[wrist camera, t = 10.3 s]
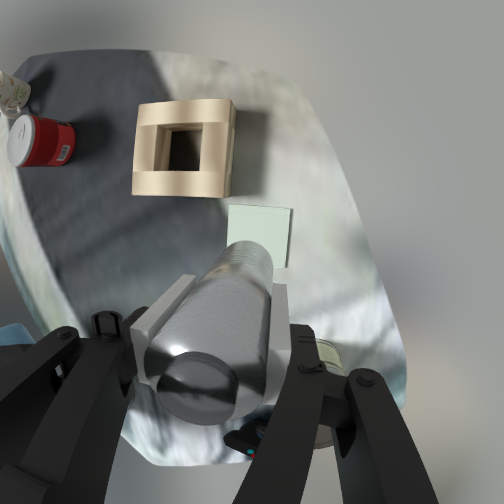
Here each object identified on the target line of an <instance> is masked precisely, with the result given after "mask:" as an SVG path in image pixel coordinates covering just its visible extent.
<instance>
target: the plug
mask: <svg viewBox="0 0 504 504" xmlns="http://www.w3.org/2000/svg"><path fill="white" fill-rule="evenodd" d="M272 283H273V261H272V258H271V256H270V254H269V252H268V251H267V250H266V249H265V248H264V247H263V246H262V245H260V244H258V243H256V242H253V241H248V240H243V241H238V242H235V243H233V244H231V245H229V246H228V247H227V248H226V249H225V250H224V251H223V253H222V254H221V255H220V256H219V257H218V259H217V260H216V261H215V262H214V264H213V265H212V266H211V267H210V268H209V270H208V271H207V272H206V273H205V275H204V276H203V277H202V278H201V279H200V281H199V282H198V283H197V284H196V286H195V287H194V288H193V289H192V291H191V292H190V293H189V294H188V296H187V297H186V298H185V299H184V301H183V302H182V303H181V304H180V306H179V307H178V308H177V309H176V311H175V312H174V313H173V314H172V316H171V317H170V318H169V319H168V321H167V322H166V323H165V324H164V326H163V327H162V328H161V329H160V331H159V332H158V333H157V335H156V336H155V337H154V338H153V340H152V341H151V342H150V344H149V345H148V347H147V349H146V351H145V354H144V361H143V364H144V371H145V375H146V378H147V380H148V382H149V384H150V386H151V387H152V389H153V390H154V391H155V393H156V394H157V395H158V398H159V400H160V401H161V403H162V404H163V406H164V407H165V408H166V409H167V410H168V411H169V412H171V413H172V414H173V415H175V416H176V417H178V418H180V419H182V420H184V421H186V422H189V423H193V424H197V425H216V424H220V423H223V422H225V421H231V420H235V419H239V418H241V417H244V416H246V415H247V414H249V413H251V412H252V411H253V410H255V409H256V408H257V407H258V406H259V404H260V403H261V401H262V399H263V397H264V394H265V390H266V378H267V371H266V367H267V353H268V339H269V325H270V309H271V295H272Z"/></svg>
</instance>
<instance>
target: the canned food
mask: <svg viewBox="0 0 504 504" xmlns="http://www.w3.org/2000/svg"><path fill="white" fill-rule="evenodd" d="M75 143H76V134H75V130H74V128H73V127H72V126H71V125H70V124H69V123H66V122H62V121H57V120H53V119H48V118H43V117H38V116H32V115H22V116H21V117H19V118H18V119H17V120H16V122H15V123H14V125H13V127H12V129H11V131H10V134H9V138H8V143H7V157H8V160H9V163H10V164H11V165H12V166H15V167H57V166H60V165H63V164H65V163H66V162H67V161H68V160H69V159H70V157H71V155H72V153H73V151H74V148H75Z"/></svg>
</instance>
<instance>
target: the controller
mask: <svg viewBox="0 0 504 504" xmlns="http://www.w3.org/2000/svg"><path fill="white" fill-rule="evenodd" d="M267 425H268V423H266V422H264V421H260V420H253V421H250V422H248V423H246V424H245V425H243V426H242V427H241V428H240V429H239V430H233V431H231V432H229V433H227V434H226V435H225V436H224V438H223V439H224V442H225V445H226V446H228V447H230V448H232V449H235V450H237V451H239V452H241V453H243V454H246V455H248V456H250V457H253V458H254V456H255V454H256V451H257V449H258V447H259V444H260V442H261V439H260V438H259V437H258V435H257V433H256V431H257V432H259V433H260V434H261V435H262V436H263V435H264V432H265V430H266V427H267Z"/></svg>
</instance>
